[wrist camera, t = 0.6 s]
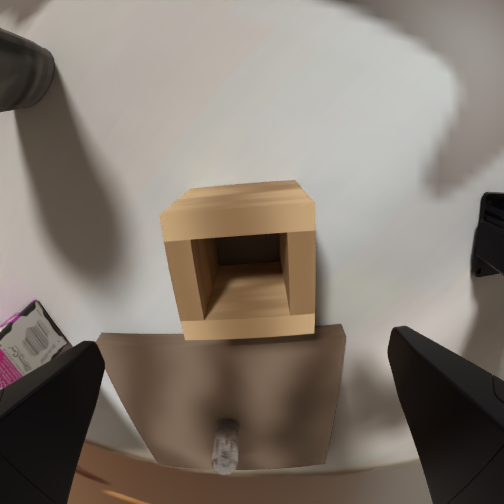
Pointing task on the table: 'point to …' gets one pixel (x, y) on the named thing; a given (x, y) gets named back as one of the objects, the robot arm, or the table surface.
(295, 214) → the oak collar
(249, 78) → the table surface
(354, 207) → the table surface
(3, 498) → the robot arm
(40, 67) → the beverage cup
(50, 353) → the candy bar box
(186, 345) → the pin board
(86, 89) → the table surface
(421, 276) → the table surface
